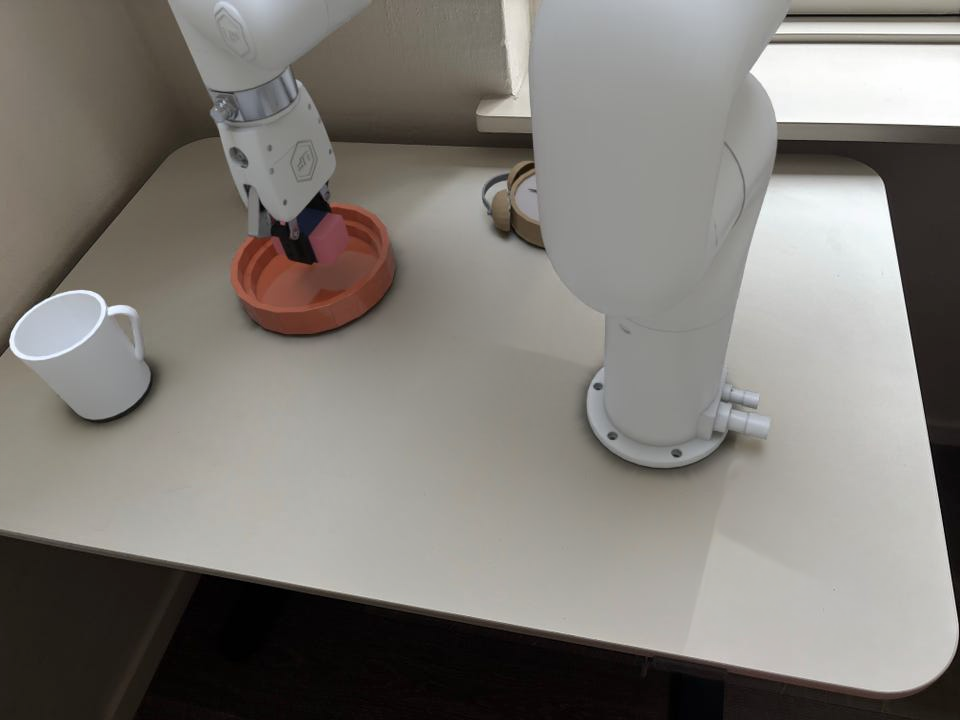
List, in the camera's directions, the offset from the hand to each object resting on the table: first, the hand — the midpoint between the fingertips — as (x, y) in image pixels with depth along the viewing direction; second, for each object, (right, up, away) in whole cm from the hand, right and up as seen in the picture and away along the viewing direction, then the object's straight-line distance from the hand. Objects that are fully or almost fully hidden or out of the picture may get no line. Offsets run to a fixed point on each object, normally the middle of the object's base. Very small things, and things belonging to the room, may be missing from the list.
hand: (313, 244), depth 77 cm
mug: (-19, -15, -2) cm, 25 cm away
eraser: (0, 0, 0) cm, 0 cm away
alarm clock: (+26, +4, +7) cm, 27 cm away
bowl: (0, -3, +4) cm, 6 cm away
